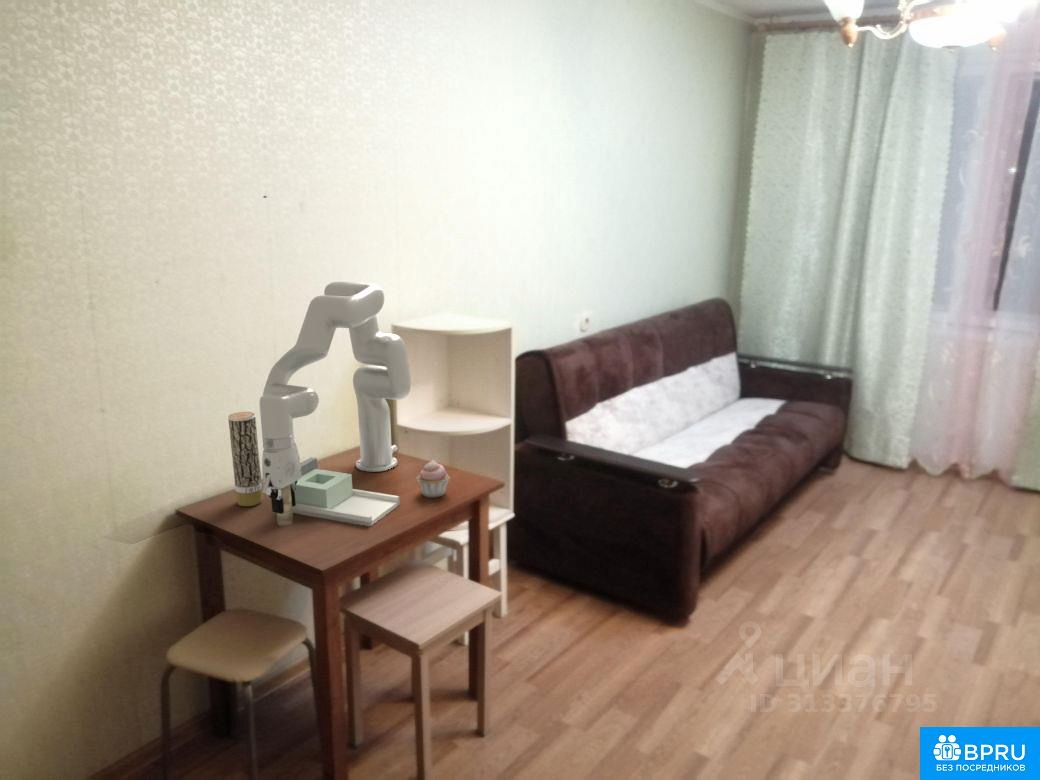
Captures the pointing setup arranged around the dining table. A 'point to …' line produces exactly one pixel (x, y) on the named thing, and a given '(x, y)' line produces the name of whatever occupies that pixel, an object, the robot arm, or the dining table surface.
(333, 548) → the dining table surface
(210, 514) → the dining table surface
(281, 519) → the dowel
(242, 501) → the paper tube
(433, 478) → the cupcake
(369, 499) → the rail base
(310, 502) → the slide block
